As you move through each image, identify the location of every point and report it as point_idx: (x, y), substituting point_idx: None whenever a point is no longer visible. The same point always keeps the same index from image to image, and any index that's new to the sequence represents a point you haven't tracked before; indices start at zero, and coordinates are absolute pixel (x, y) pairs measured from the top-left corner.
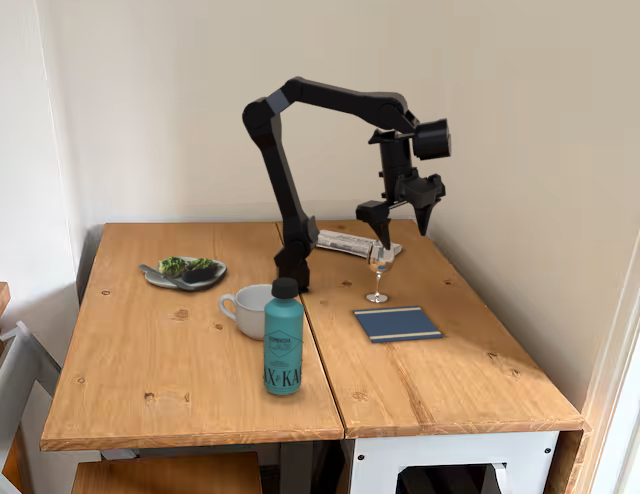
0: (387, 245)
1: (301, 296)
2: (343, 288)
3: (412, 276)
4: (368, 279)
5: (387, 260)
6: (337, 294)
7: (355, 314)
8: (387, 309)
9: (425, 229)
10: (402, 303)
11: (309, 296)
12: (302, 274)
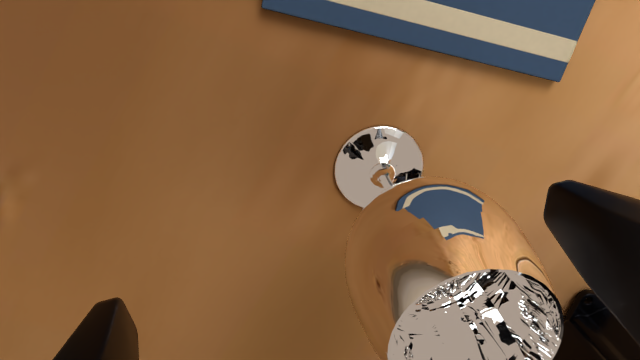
0: (624, 200)
1: None
2: None
3: None
4: (308, 327)
5: (455, 201)
6: None
7: (578, 38)
8: (422, 27)
9: (83, 351)
10: (305, 78)
11: None
12: (636, 353)
